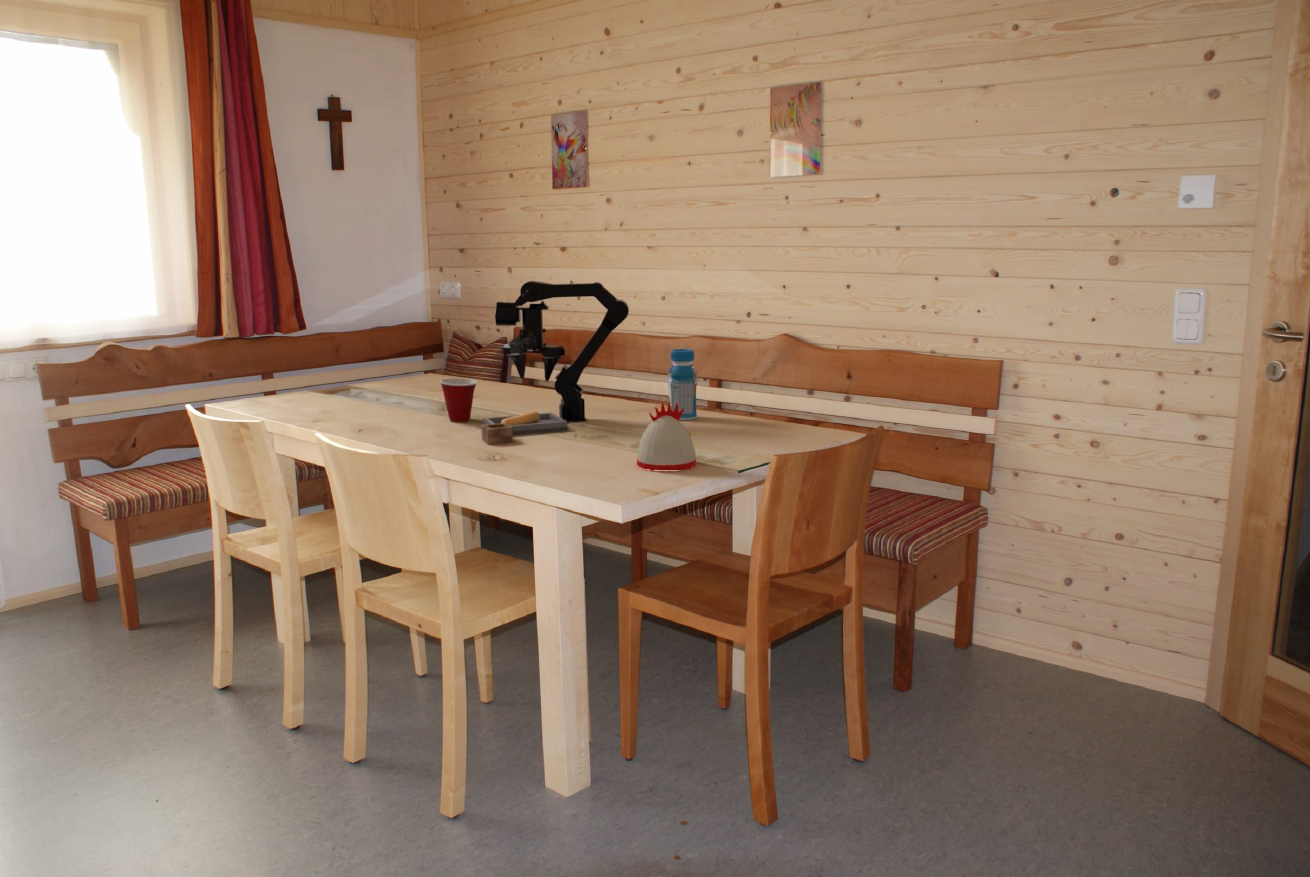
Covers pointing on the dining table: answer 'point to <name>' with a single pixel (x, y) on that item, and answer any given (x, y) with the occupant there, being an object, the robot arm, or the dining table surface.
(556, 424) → the charcoal tray
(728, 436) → the dining table surface
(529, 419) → the tan dowel pin
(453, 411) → the plastic cup
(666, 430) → the chicken hat
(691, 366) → the beverage bottle
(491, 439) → the walnut socket block
